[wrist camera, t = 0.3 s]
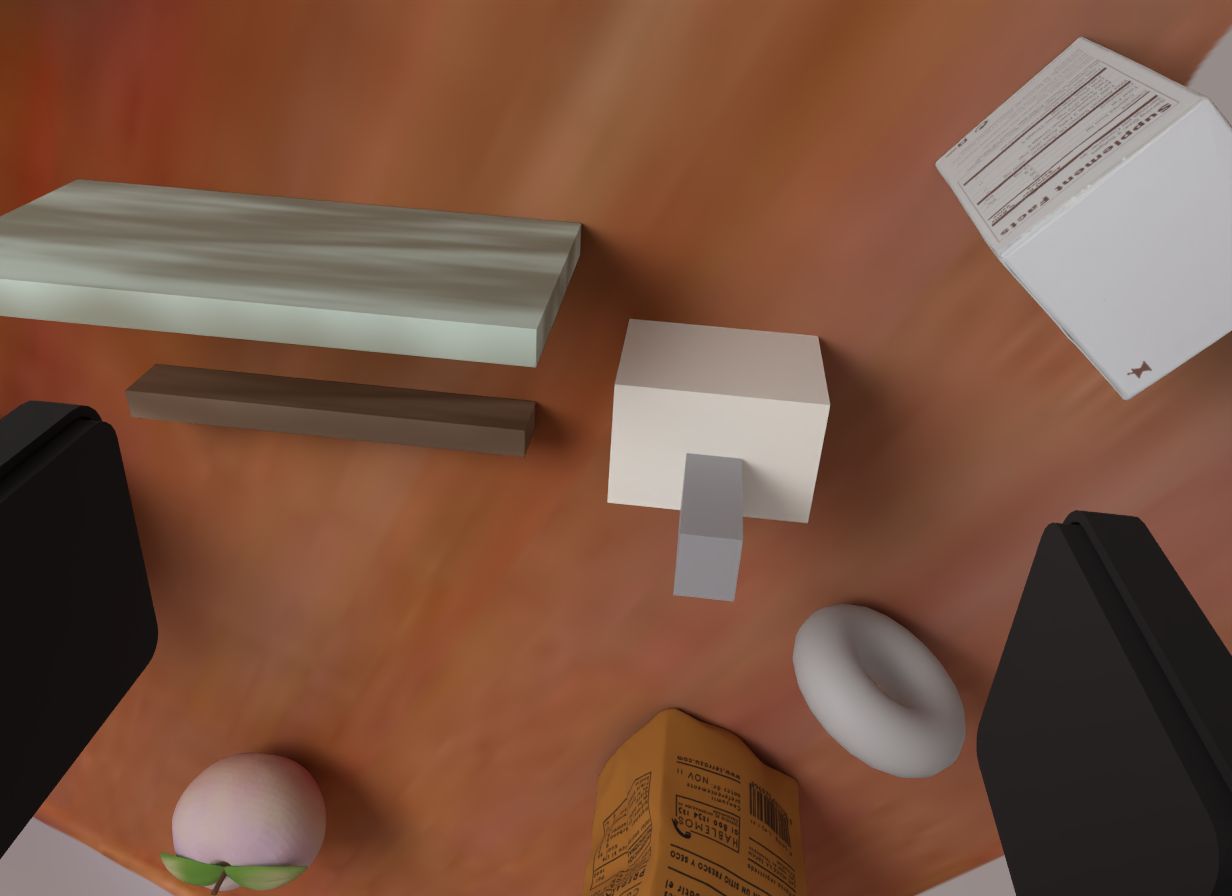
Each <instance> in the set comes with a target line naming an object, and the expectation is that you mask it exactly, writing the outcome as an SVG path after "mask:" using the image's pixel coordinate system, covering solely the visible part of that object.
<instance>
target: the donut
mask: <svg viewBox="0 0 1232 896" xmlns="http://www.w3.org/2000/svg"><path fill="white" fill-rule="evenodd" d="M793 664H794V668H795V673H796V677H797V682H798V685H799V688H800V690H801V692H802V694H803V696H804V698H805V700H806V702H807V704H808V706H809V708H810V710H811V711H812V713H813V714H814V715H815V717H816V718H817V719H818V721H819V722H820V723H821V725H822V726H823V727H824V729H825V730H826V731H827V732H828V733H829V734H830V735H831V736H832V737H833V738H834V739H835V740H836V741H837V742H838V743H839V744H840V745H841V746H842V747H844V748H845V749H846V750H847V751H848V752H849V753H850V754H852V755H853V756H855V757H857V758H858V759H860V760H861V761H863V762H864V763H866V764H867V765H869V766H871V767H872V768H875V769H878V770H881V771H883V772H886V773H889V774H892V775H895V776H898V777H901V778H925V777H931V776H933V775H935V774H937V773H938V772H940V771H942V770H943V769H945V768H947V767H948V766H950V765H952V764H953V763H954V761H955V760H956V759H957V758H958V756H959V753H960V751H961V748H962V746H963V743H964V740H965V737H966V723H965V713H964V706H963V704H962V701H961V699H960V696H959V693H958V691H957V688H956V686H955V684H954V683H953V681H952V680H951V678H950V676H949V675H948V673H947V672H946V670H945V668H944V667H943V665H942V664H941V663H940V662H939V661H938V659H937V658H936V657H935V656H934V655H933V654H932V653H931V651H930V650H929V649H928V648H927V647H926V646H925V645H924V644H923V643H922V642H921V641H920V640H919V639H918V638H916V637H915V636H914V635H913V634H912V633H911V632H910V631H908V630H907V629H906V628H905V627H903V626H902V625H900V624H899V623H897V622H896V621H894V620H892V619H891V618H889V617H888V616H886V615H884V614H882V613H880V612H877V611H875V610H872V609H870V608H868V607H864V606H857V605H850V604H842V603H840V604H836V605H832V606H829V607H825V608H822V609H818V610H816V611H815V612H814V613H812V614H811V615H810V616H809V617H808V619H807V620H806V621H805V622H804V623H803V625H802V626H801V627H800V629H799V630H798V632H797V634H796V639H795V645H794V652H793ZM873 680H874V681H875V682H876V683H877V684H878V685H879V686H880V687H881V688H882V689H883V690H884V692H885V693H886V694H887V695H888V696H887V695H886V694H885V693H884V692H883V691H882V690H881V689H880V688H879V687H877V685H876V684H875V683H874V682H873Z"/></svg>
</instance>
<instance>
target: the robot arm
mask: <svg viewBox="0 0 1232 896" xmlns="http://www.w3.org/2000/svg"><path fill="white" fill-rule="evenodd" d="M157 640H158V626H157V621H156V616H155V611H154V607H153V602H152V597H151V593H150V588H149V583H148V579H147V574H146V569H145V565H144V560H143V555H142V551H141V546H140V541H139V537H138V532H137V527H136V523H135V518H134V513H133V509H132V504H131V499H130V495H129V490H128V485H127V481H126V476H125V471H124V466H123V462H122V457H121V452H120V448H119V443H118V438H117V435H116V432H115V430H114V429H113V427H112V426H111V425H110V424H108V423H107V422H102V420H101V417H100V416H99V414H98V413H97V412H96V410H94V409H92V408H91V407H89V406H83V405H73V404H64V403H54V402H45V401H28V402H26V403H24V404H22V405H20V406H19V407H17V408H16V409H15V410H13V411H12V412H10V413H9V414H8V415H6V416H5V417H3V418H2V419H1V420H0V859H1V857H2V856H3V855H4V854H5V852H6V851H7V850H8V848H9V847H10V846H11V844H12V843H13V842H14V840H15V839H16V838H17V836H18V835H19V834H20V832H21V831H22V830H23V829H24V827H25V826H26V824H27V823H28V822H29V820H30V819H31V818H32V817H33V815H34V814H35V813H36V811H37V810H38V809H39V807H40V806H41V805H42V803H43V802H44V801H45V800H46V798H47V797H48V796H49V794H50V793H51V792H52V790H53V789H54V788H55V786H56V785H57V784H58V782H59V781H60V780H61V778H62V777H63V776H64V774H65V773H66V772H67V771H68V769H69V768H70V767H71V765H72V764H73V763H74V761H75V760H76V759H77V757H78V756H79V755H80V753H81V752H82V751H83V749H84V748H85V747H86V745H87V744H88V743H89V742H90V740H91V739H92V738H93V736H94V735H95V734H96V732H97V731H98V730H99V728H100V727H101V726H102V724H103V723H104V722H105V720H106V719H107V718H108V716H109V715H110V714H111V712H112V711H113V710H114V709H115V707H116V706H117V705H118V703H119V702H120V701H121V699H122V698H123V697H124V695H125V694H126V693H127V691H128V690H129V689H130V687H131V686H132V685H133V683H134V682H135V681H136V680H137V678H138V677H139V676H140V674H141V673H142V672H143V670H144V669H145V668H146V666H147V665H148V664H149V662H150V660H151V659H152V657H153V654H154V652H155V649H156V645H157ZM977 758H978V762H979V767H980V770H981V774H982V777H983V781H984V784H985V788H986V791H987V795H988V798H989V802H990V805H991V809H992V812H993V816H994V819H995V823H996V826H997V830H998V833H999V837H1000V840H1001V844H1002V847H1003V851H1004V854H1005V858H1006V861H1007V865H1008V868H1009V871H1010V875H1011V879H1012V882H1013V885H1014V889H1015V893H1016V896H1232V656H1231V654H1230V653H1229V651H1228V650H1227V648H1226V647H1225V645H1224V644H1223V642H1222V641H1221V639H1220V638H1219V636H1218V635H1217V633H1216V632H1215V630H1214V629H1213V627H1212V625H1211V624H1210V622H1209V621H1208V619H1207V618H1206V616H1205V615H1204V613H1203V612H1202V610H1201V609H1200V607H1199V606H1198V604H1197V603H1196V601H1195V600H1194V598H1193V597H1192V595H1191V594H1190V592H1189V591H1188V589H1187V588H1186V586H1185V584H1184V583H1183V581H1182V580H1181V578H1180V577H1179V575H1178V574H1177V572H1176V571H1175V569H1174V568H1173V566H1172V565H1171V563H1170V562H1169V560H1168V559H1167V557H1166V556H1165V554H1164V553H1163V551H1162V550H1161V548H1160V546H1159V545H1158V543H1157V542H1156V540H1155V539H1154V537H1153V536H1152V534H1151V533H1150V531H1149V530H1148V528H1147V527H1146V525H1145V524H1144V523H1143V522H1142V521H1141V520H1140V519H1139V518H1138V517H1134V516H1126V515H1116V514H1107V513H1097V512H1088V511H1078V510H1075V511H1073V512H1071V513H1070V514H1069V515H1068V516H1067V517H1066V519H1065V520H1064V522H1063V524H1061V523H1051V524H1049V525H1048V526H1047V527H1046V528H1045V530H1044V532H1043V535H1042V537H1041V540H1040V543H1039V546H1038V549H1037V552H1036V555H1035V558H1034V561H1033V564H1032V567H1031V570H1030V573H1029V576H1028V579H1027V582H1026V585H1025V588H1024V591H1023V594H1022V597H1021V600H1020V603H1019V606H1018V609H1017V612H1016V615H1015V618H1014V621H1013V624H1012V627H1011V630H1010V633H1009V636H1008V639H1007V642H1006V645H1005V648H1004V651H1003V654H1002V657H1001V660H1000V663H999V666H998V669H997V672H996V675H995V678H994V681H993V684H992V687H991V690H990V693H989V696H988V699H987V702H986V705H985V708H984V711H983V714H982V717H981V720H980V723H979V727H978V732H977Z"/></svg>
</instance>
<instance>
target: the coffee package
mask: <svg viewBox="0 0 1232 896" xmlns="http://www.w3.org/2000/svg"><path fill="white" fill-rule="evenodd" d="M807 883H808V882H807V875H806V870H805V862H804V856H803V852H802V844H801V821H800V811H799V798H798V783H797V782H796V780H795V779H793V778H792V777H790V776H788V775H786V774H784V773H782V772H780V771H778V770H776V769H773V768H771V767H769V766H767V765H765V764H763V763H762V762H761V761H760V760H759V759H758V758H757V757H756V756H755V755H754V754H753V752H752V751H751V750H750V749H749V748H748V747H747V746H746V744H745V743H744V742H743V741H742V740H741V739H740V738H739V737H737V736H736V735H735V734H733V733H732V732H730V731H728V730H726V729H723V728H720V727H718V726H715V725H711V724H708V723H704V722H701V721H699V720H697V719H695V718H693V717H691V716H689V715H687V714H686V713H684V712H682V711H680V710H677V709H666V710H664V711H661V712H659V713H658V714H657V715H656V716H655V717H654V718H653V719H652V720H651V721H650V722H649V723H647V724H646V725H645V726H643V727H642V728H641V729H639V730H638V731H637V732H636V733H634V734H633V735H632V736H631V737H629V738H628V739H627V740H626V741H625V742H624V743H623V744H622V745H621V746H620V747H619V748H618V750H617V752H616V753H615V754H614V755H612V756H611V758H610V759H609V760H608V761H607V763H606V764H605V767H604V769H603V770H602V772H601V773H600V775H599V777H598V779H597V794H596V808H595V813H594V818H593V825H592V848H591V853H590V858H589V861H588V863H587V865H586V867H585V876H584V886H583V890H582V893H581V896H807Z"/></svg>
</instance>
